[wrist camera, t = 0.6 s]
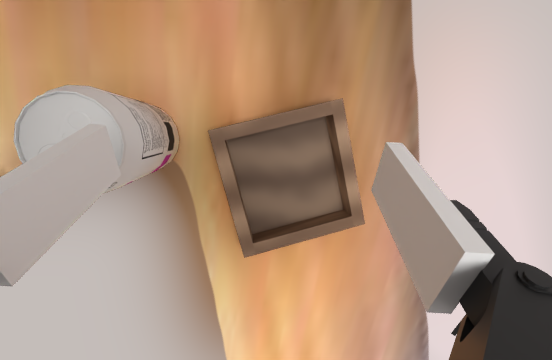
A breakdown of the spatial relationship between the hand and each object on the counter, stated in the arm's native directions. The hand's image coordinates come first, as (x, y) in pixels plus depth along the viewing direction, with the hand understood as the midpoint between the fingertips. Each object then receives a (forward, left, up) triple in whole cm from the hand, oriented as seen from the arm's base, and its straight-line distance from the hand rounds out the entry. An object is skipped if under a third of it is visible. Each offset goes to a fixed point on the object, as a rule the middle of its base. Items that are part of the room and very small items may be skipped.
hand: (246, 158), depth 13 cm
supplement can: (-3, -11, -22) cm, 25 cm away
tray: (+6, +4, -22) cm, 23 cm away
